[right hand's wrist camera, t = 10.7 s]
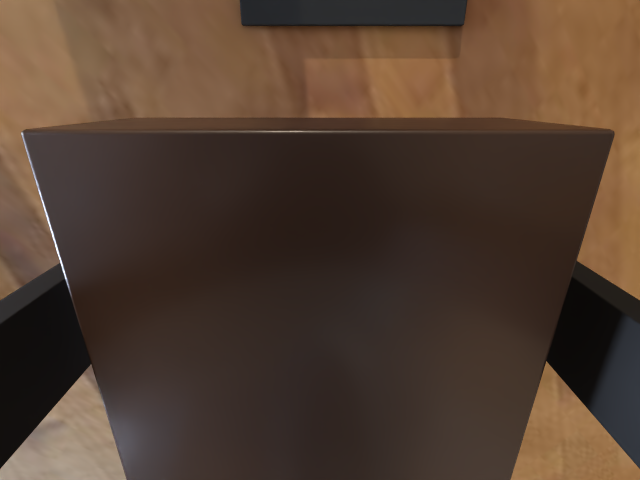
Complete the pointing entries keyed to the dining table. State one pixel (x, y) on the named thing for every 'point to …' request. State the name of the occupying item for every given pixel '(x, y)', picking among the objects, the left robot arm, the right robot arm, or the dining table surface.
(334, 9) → the slate mat
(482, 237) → the walnut cap
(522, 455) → the dining table surface
